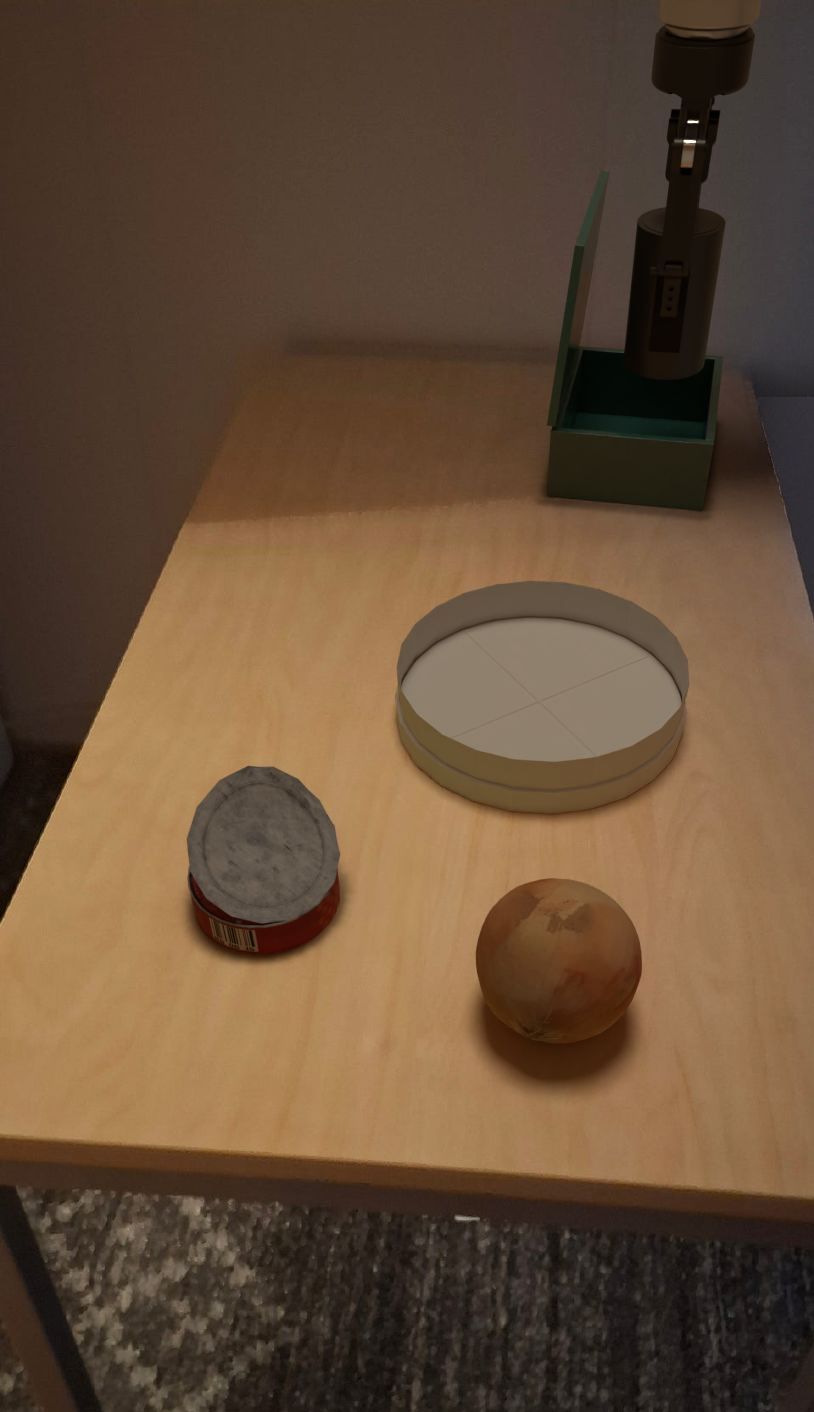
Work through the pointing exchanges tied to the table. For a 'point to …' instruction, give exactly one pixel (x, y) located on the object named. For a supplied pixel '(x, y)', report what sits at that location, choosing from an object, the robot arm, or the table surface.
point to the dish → (541, 696)
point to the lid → (577, 296)
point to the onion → (558, 960)
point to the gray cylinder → (697, 302)
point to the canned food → (262, 862)
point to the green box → (634, 434)
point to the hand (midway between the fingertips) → (667, 331)
